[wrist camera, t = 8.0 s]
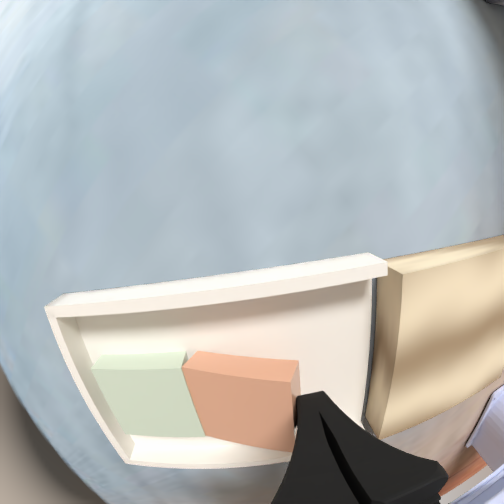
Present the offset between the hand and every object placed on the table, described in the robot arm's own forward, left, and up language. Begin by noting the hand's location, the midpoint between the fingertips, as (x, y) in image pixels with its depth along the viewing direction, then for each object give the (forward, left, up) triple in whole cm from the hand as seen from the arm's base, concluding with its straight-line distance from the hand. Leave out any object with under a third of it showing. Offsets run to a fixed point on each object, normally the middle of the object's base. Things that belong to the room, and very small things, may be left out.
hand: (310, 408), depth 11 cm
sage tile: (0, +8, -1) cm, 8 cm away
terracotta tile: (0, +3, -2) cm, 3 cm away
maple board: (0, -10, -3) cm, 11 cm away
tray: (0, +4, -3) cm, 5 cm away
